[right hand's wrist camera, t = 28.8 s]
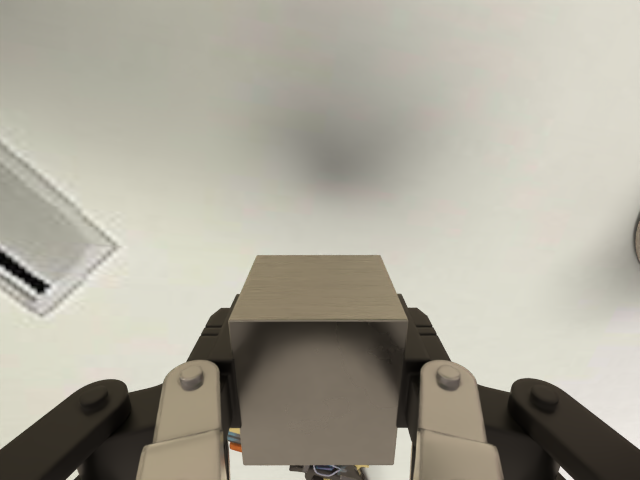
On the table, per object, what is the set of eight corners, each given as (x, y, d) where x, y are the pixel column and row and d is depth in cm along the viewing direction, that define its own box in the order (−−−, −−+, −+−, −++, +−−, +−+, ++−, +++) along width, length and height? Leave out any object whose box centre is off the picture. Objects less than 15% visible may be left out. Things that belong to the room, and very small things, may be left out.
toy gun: (368, 523, 41) (399, 477, 37) (212, 482, 40) (224, 430, 36) (367, 498, 43) (396, 451, 39) (220, 459, 43) (233, 407, 38)
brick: (264, 367, 14) (242, 466, 10) (256, 254, 12) (227, 320, 8) (373, 367, 14) (394, 466, 10) (380, 254, 12) (409, 320, 8)
